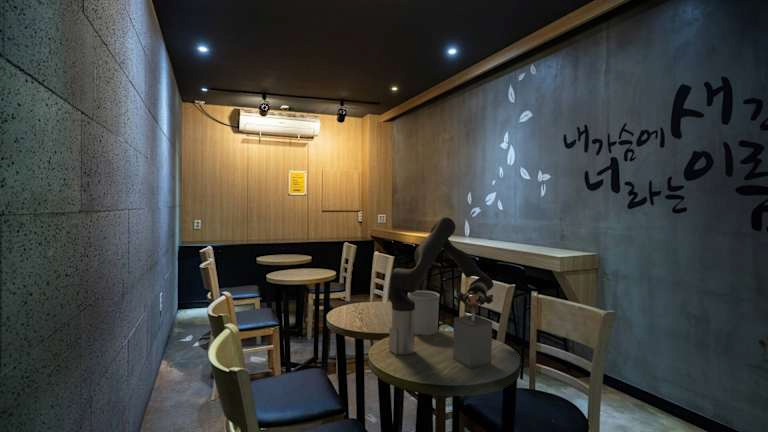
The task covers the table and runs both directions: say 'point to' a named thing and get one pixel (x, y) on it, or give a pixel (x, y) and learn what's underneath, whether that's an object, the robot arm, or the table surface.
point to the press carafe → (472, 341)
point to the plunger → (473, 303)
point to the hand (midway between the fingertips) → (472, 301)
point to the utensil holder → (425, 311)
